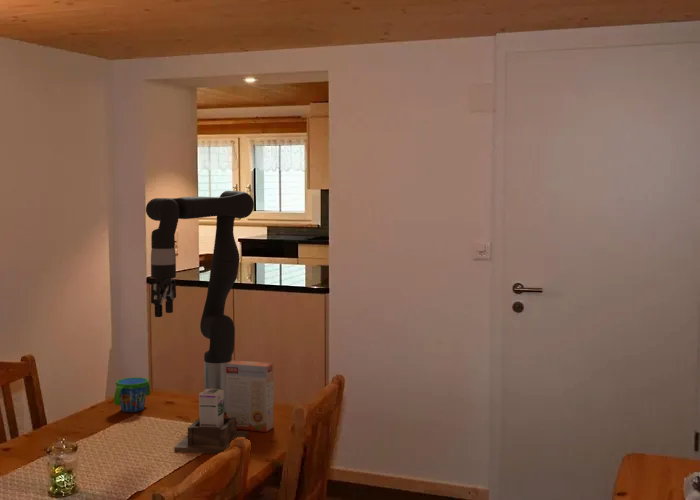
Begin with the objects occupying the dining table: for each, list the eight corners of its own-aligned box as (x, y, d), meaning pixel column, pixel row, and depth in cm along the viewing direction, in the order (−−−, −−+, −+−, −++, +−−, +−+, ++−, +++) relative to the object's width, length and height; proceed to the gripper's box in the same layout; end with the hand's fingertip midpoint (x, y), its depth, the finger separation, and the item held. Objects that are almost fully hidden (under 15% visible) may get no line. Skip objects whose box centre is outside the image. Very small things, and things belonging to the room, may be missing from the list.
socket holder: (195, 432, 231) (194, 413, 231) (248, 435, 229) (248, 415, 229) (174, 451, 215) (174, 430, 214) (231, 454, 212) (231, 433, 212)
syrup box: (218, 442, 219) (217, 393, 218) (199, 441, 220) (198, 392, 219) (225, 436, 224) (224, 388, 223) (206, 435, 225) (205, 387, 224)
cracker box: (274, 427, 237) (274, 362, 236) (266, 433, 232) (266, 366, 230) (235, 423, 242) (234, 359, 240) (225, 428, 236) (225, 362, 235)
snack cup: (139, 402, 265) (138, 374, 265) (160, 407, 260) (160, 378, 259) (103, 413, 252) (103, 383, 251) (125, 418, 246) (125, 387, 246)
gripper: (166, 265, 224) (166, 318, 225) (183, 261, 238) (183, 311, 239) (142, 264, 225) (143, 318, 226) (160, 260, 239) (161, 311, 240)
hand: (164, 314), depth 233 cm, fingers open, 8 cm apart
